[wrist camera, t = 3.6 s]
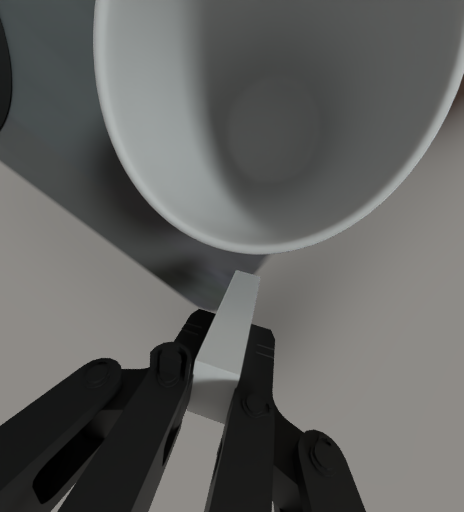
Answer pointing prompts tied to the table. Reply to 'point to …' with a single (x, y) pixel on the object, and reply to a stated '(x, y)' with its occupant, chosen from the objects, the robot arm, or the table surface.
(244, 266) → the table surface
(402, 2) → the mug
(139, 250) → the table surface
